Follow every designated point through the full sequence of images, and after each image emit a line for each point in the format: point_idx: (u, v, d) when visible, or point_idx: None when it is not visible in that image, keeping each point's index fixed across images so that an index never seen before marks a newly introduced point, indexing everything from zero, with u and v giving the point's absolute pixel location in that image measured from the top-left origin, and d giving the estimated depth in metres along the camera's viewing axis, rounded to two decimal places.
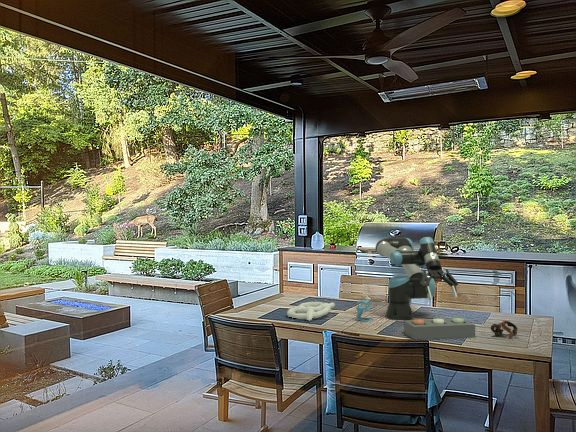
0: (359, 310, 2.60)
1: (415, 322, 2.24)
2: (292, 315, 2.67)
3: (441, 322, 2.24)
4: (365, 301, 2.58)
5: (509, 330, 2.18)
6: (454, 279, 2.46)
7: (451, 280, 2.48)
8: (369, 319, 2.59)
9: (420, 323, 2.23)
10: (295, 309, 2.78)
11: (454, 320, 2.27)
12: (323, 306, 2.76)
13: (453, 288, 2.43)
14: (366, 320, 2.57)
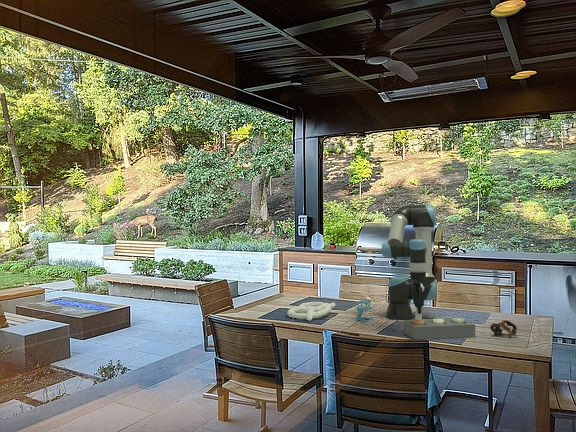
0: (359, 310, 2.60)
1: (415, 322, 2.24)
2: (292, 315, 2.67)
3: (441, 322, 2.24)
4: (365, 301, 2.58)
5: (509, 330, 2.19)
6: (419, 300, 2.22)
7: None
8: (369, 319, 2.59)
9: (420, 323, 2.23)
10: (296, 309, 2.78)
11: (454, 320, 2.27)
12: (324, 306, 2.76)
13: (415, 310, 2.25)
14: (366, 320, 2.57)
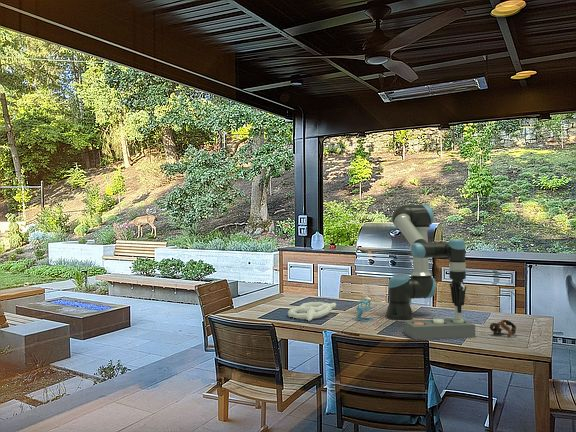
0: (359, 310, 2.60)
1: None
2: (292, 315, 2.67)
3: (441, 322, 2.24)
4: (365, 301, 2.58)
5: (508, 329, 2.20)
6: (459, 299, 2.24)
7: None
8: (369, 319, 2.59)
9: None
10: (296, 309, 2.78)
11: (454, 321, 2.27)
12: (324, 306, 2.76)
13: (455, 309, 2.27)
14: (366, 320, 2.57)
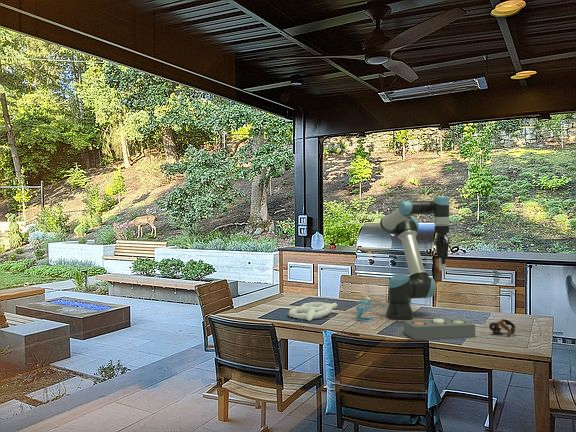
0: (359, 310, 2.60)
1: None
2: (293, 315, 2.68)
3: (441, 322, 2.24)
4: (365, 301, 2.58)
5: (507, 328, 2.21)
6: (443, 251, 2.41)
7: None
8: (369, 319, 2.59)
9: None
10: (297, 309, 2.78)
11: None
12: (325, 306, 2.75)
13: (439, 261, 2.45)
14: (366, 320, 2.57)
